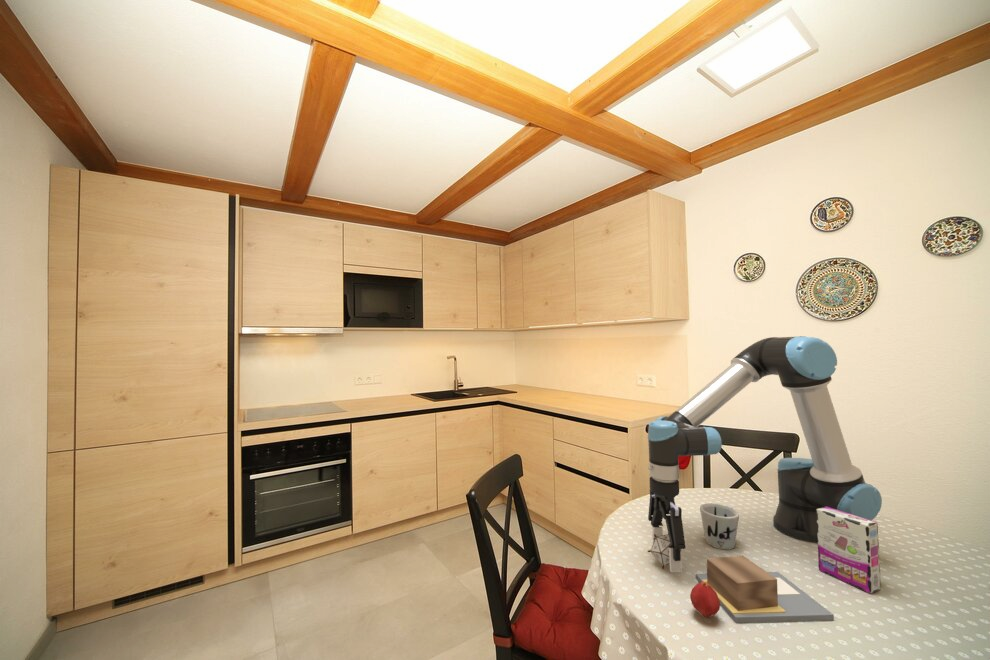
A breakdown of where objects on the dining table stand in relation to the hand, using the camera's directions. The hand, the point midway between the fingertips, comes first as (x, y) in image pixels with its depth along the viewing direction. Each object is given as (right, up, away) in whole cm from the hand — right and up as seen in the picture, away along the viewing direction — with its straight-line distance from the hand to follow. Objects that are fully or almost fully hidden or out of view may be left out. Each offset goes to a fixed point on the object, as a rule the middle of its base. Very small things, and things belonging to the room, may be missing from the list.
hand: (666, 560), depth 106 cm
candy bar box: (+44, -1, -7) cm, 45 cm away
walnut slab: (+11, +1, -15) cm, 18 cm away
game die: (0, -1, 0) cm, 1 cm away
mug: (+22, -2, +14) cm, 26 cm away
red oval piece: (0, -1, -20) cm, 20 cm away
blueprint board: (+16, -1, -14) cm, 21 cm away
